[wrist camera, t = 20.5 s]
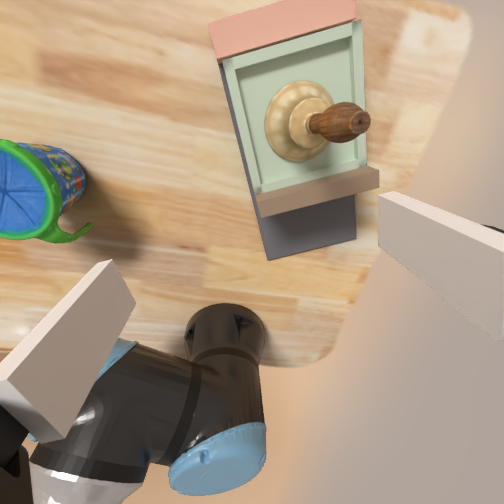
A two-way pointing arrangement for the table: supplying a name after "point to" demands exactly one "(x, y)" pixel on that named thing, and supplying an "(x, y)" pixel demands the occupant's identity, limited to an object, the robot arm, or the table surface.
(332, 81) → the pale green tray
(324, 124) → the hand bell
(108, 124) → the table surface
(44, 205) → the snack cup
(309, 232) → the track
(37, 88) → the table surface
